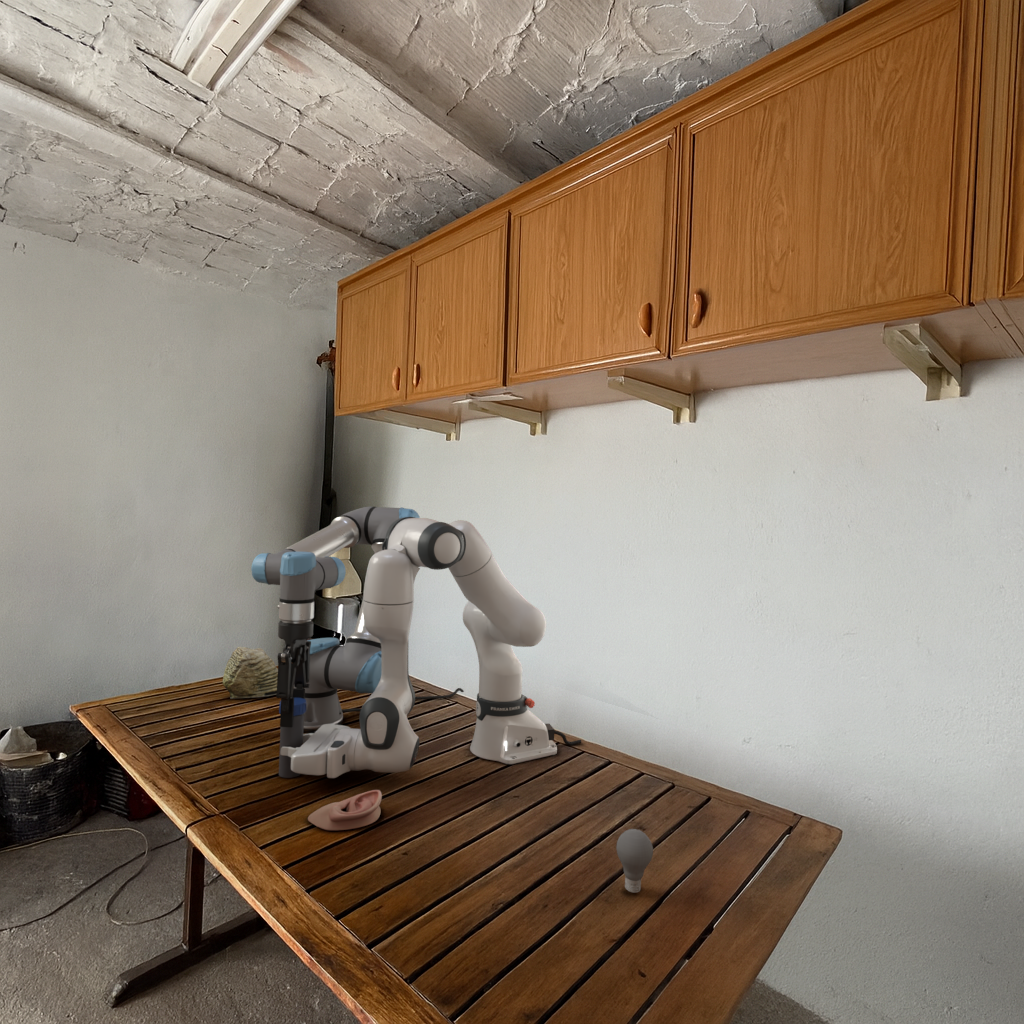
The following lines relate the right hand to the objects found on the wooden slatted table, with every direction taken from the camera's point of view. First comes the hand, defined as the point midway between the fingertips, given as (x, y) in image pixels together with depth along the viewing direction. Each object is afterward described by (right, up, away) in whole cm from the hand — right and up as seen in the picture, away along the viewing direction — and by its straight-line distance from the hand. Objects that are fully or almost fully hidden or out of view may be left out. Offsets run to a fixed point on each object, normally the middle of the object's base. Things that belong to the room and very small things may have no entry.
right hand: (287, 744), depth 144 cm
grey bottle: (+1, -7, 0) cm, 7 cm away
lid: (+1, +10, 0) cm, 10 cm away
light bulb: (+71, -10, -39) cm, 82 cm away
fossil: (-29, -4, +54) cm, 61 cm away
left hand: (+1, +5, 0) cm, 5 cm away
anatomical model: (+18, -8, -19) cm, 27 cm away
